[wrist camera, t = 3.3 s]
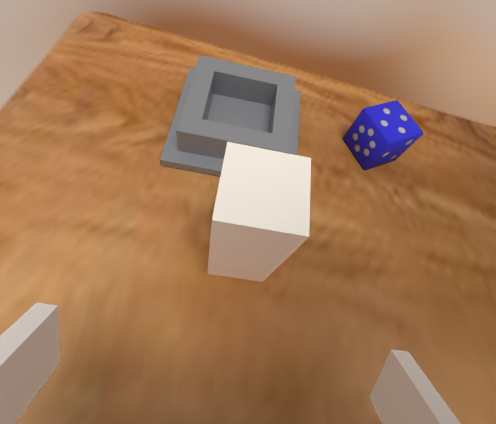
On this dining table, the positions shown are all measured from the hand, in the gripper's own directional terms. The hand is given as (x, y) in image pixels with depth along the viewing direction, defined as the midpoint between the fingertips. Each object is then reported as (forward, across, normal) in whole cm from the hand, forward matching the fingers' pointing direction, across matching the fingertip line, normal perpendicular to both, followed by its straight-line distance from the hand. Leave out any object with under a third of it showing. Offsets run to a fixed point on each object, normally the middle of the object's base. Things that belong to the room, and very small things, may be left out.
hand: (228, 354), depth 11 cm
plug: (+14, +1, -3) cm, 15 cm away
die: (+26, +15, +8) cm, 31 cm away
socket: (+25, -1, +8) cm, 26 cm away
